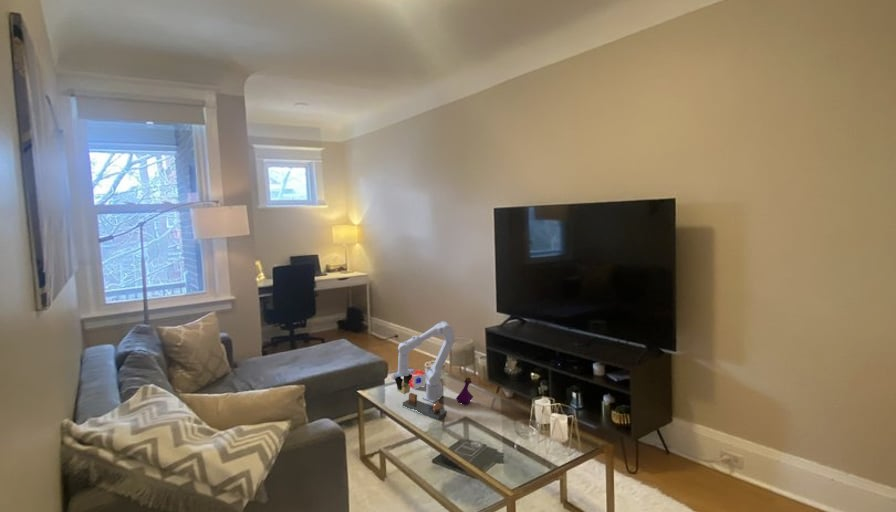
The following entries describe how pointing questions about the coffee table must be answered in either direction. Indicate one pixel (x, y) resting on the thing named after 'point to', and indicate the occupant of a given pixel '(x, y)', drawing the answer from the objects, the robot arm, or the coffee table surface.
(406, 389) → the lever cap
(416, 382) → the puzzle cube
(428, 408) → the hand plane
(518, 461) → the coffee table surface
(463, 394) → the perfume bottle
